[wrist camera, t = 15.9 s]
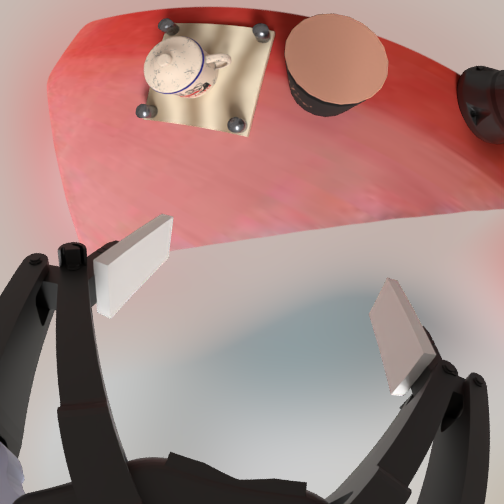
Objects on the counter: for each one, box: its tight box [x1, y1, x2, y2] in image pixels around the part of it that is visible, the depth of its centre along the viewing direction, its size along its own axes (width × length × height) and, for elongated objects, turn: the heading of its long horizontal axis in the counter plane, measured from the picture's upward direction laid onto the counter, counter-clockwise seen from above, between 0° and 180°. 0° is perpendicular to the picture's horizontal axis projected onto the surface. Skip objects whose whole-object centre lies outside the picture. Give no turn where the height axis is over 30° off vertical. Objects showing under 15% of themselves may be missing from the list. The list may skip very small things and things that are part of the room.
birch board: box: [143, 23, 275, 137], centre depth 39 cm, size 19×19×2 cm
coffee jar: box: [284, 14, 388, 117], centre depth 29 cm, size 11×11×18 cm
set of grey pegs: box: [136, 18, 271, 133], centre depth 36 cm, size 18×18×4 cm
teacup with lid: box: [144, 36, 231, 99], centre depth 33 cm, size 12×9×12 cm
